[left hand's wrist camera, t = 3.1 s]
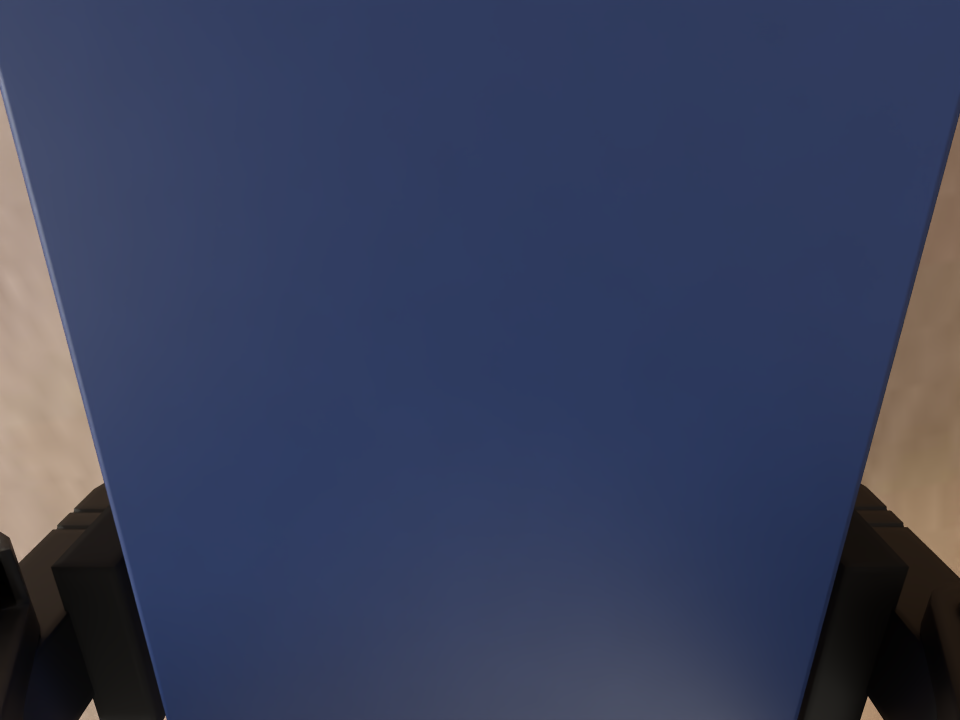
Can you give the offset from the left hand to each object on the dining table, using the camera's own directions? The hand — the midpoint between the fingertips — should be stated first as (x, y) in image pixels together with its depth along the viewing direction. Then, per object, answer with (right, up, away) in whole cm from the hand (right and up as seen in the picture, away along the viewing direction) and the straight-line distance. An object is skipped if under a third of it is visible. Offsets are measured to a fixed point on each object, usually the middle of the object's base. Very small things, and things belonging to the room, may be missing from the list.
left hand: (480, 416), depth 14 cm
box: (0, +7, -2) cm, 7 cm away
